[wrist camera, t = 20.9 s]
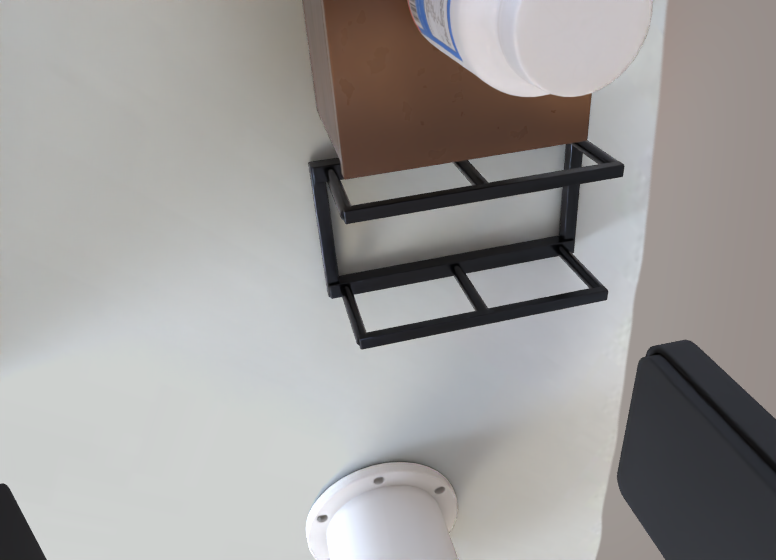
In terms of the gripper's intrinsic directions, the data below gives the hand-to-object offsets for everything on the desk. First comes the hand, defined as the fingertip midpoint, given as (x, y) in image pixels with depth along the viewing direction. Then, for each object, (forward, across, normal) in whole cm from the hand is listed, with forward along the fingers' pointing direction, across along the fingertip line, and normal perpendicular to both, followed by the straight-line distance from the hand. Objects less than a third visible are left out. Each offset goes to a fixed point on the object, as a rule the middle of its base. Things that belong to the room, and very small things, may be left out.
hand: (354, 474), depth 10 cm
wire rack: (+28, -10, +10) cm, 32 cm away
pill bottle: (+20, -8, -4) cm, 22 cm away
